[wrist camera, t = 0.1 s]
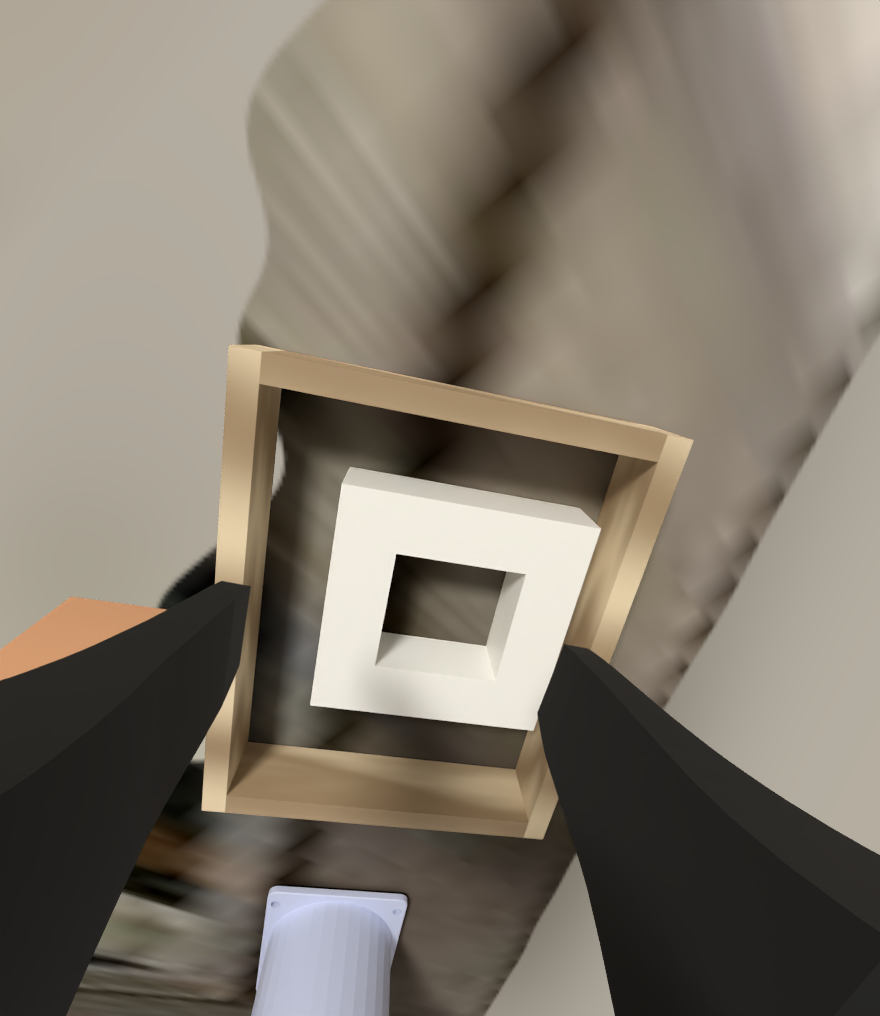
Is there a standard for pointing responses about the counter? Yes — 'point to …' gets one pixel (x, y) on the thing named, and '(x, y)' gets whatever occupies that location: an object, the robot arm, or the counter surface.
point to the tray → (416, 660)
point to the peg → (69, 632)
